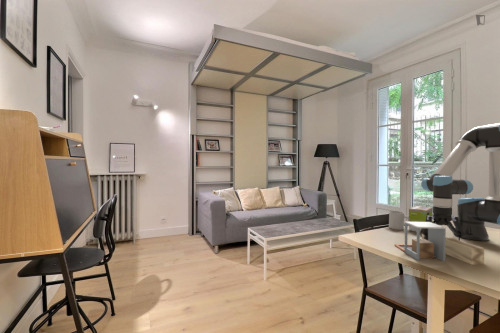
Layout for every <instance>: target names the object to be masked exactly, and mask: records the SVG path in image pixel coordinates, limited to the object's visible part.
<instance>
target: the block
mask: <svg viewBox="0 0 500 333" xmlns="http://www.w3.org/2000/svg"><path fill="white" fill-rule="evenodd" d="M411 245H412V251H414V252H415V253H417V238H412V239H411ZM434 258H435V256H434V243H432V242H430V241H428V240H426V239H422V238H420V259H433V260H434Z"/></svg>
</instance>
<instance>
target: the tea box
mask: <svg viewBox="0 0 500 333" xmlns="http://www.w3.org/2000/svg"><path fill="white" fill-rule="evenodd" d="M427 215H428V216H433V207H431V206H429V207H428V206H420V205H413V206H412V207H409V208H408V217H409V219H410V222H425V221H426V216H427ZM433 221H434V220H432V222H433ZM432 222H431V223H432ZM421 229H422V228H420V231H421ZM408 231H413V232H417V228H416V227H414V226H412V225H409V226H408Z"/></svg>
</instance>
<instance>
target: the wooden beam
mask: <svg viewBox="0 0 500 333" xmlns="http://www.w3.org/2000/svg"><path fill="white" fill-rule="evenodd" d="M421 239H424V235H423V234H421ZM445 255H448V256H450V257H452V258H455V259H457V260H459V261H461V262H465V263H467V264H470V265H473V266H474V265H485V248H484V247H482V246H479V245H474V244H472V243H468V242H466V241H462V240H461V239H460V240H457V239H454V238H453V237H450V236H448V235H446V242H445Z"/></svg>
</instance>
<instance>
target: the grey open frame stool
mask: <svg viewBox="0 0 500 333" xmlns="http://www.w3.org/2000/svg"><path fill="white" fill-rule="evenodd" d="M404 223H405V226H404V244H403V243H402V244H401V243H400V244H399V243H397V244H396V243H394V246H395V247H396V248H397V249H399V250H400V251H402V252H404V253H406V254H407V255H408V256H410V257H411V258H413V259H414V260H416V261H419V262H420V261H421V260H420V259H421V258H420V239H421V238H420V237H421V233H420V228H428V241H430V242H432V243H434V258H436V259H438V260H440V261H442V262H446V254H445V242H446V236H447V235H446V233H447V232H446V231H447V230H446V228H447V227H445V226H444V225H437V224H434V223H431V222H408V220H406V221H405V220H404ZM407 224H409V225H412V226H414V227H416V228H417V231H416V239H417V253H415V252H414V251H412V244H408V226H407Z"/></svg>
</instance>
